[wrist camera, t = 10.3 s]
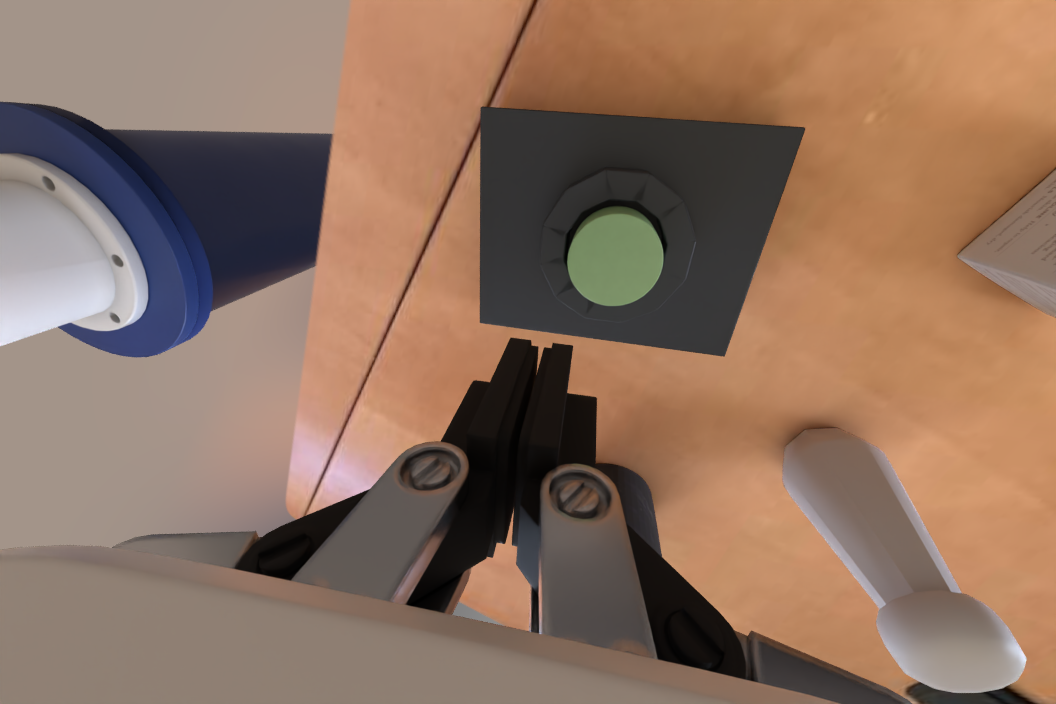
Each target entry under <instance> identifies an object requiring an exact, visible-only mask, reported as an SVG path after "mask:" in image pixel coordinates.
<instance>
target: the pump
mask: <svg viewBox="0 0 1056 704" xmlns="http://www.w3.org/2000/svg"><path fill="white" fill-rule="evenodd" d="M567 264H568V271H569V275H570V278H571V281H572V282H573V284H574V286H575V287H576V289H577V290H578V291H579V292H580V293H581V294H582V295H583V296H584V297H586V298H587V299H589V300H590V301H593V302H595V303H597V304H601V305H606V306H620V305H625V304H629V303H631V302H634V301H636V300H638V299H639V298H641V297H643V296H644V295H645V294H646V293H647V292H648V291H650V290H651V288H652V287H653V286H654V285H655V283H656V281H657V280H658V278H659V276H660V274H661V270H662V267H663V248H662V244H661V241H660V239H659V237H658V235H657V233H656V231H655V229H654V227H653V225H652V224H651V222H650V221H649V220H648V219H647V218H646V217H645V216H644V215H643V214H641V213H640V212H638V211H636V210H634V209H632V208H629V207H624V206H611V207H606V208H603V209H600V210H598V211H596V212H594V213H592V214H591V215H590V216H588V217H587V218H586V219H585V220H584V221H583V222H582V223H581V224H580V226H579V227H578V229H577V231H576V233H575V235H574V237H573V240H572V243H571V246H570V249H569V253H568V261H567Z"/></svg>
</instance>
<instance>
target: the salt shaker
mask: <svg viewBox="0 0 1056 704" xmlns="http://www.w3.org/2000/svg"><path fill="white" fill-rule="evenodd" d="M782 480H783V484H784V487H785V488H786V490H787V491H788V493H789V494H790V496H791V497H792V499H793V500H794V501H795V503H796V504H797V505H798V506H799V508H800V509H801V510H802V511H803V513H804V514H805V515H806V516H807V518H808V519H809V520H810V521H811V523H812V524H813V525H814V527H815V528H816V529H817V530H818V532H819V533H820V534H821V535H822V537H823V538H824V539H825V540H826V542H827V543H828V544H829V545H830V547H831V548H832V549H833V551H834V552H835V553H836V554H837V556H838V557H839V558H840V559H841V561H842V562H843V563H844V564H845V566H846V567H847V568H848V569H849V571H850V572H851V573H852V575H853V576H854V577H855V578H856V580H857V581H858V582H859V583H860V585H861V586H862V587H863V588H864V590H865V591H866V592H867V593H868V595H869V596H870V597H871V598H872V600H873V601H874V602H875V604H876V605H877V606H878V607H879V611H878V616H877V620H876V624H877V630H878V632H879V634H880V636H881V638H882V640H883V642H884V644H885V646H886V648H887V649H888V651H889V652H890V653H891V655H892V656H893V658H894V659H895V661H896V662H897V663H898V665H899V666H900V667H901V669H902V670H903V671H904V673H905V674H907V675H909V676H910V677H912V678H914V679H916V680H918V681H919V682H922V683H924V684H926V685H928V686H930V687H932V688H934V689H939V690H944V691H949V692H954V693H980V692H985V691H991V690H996V689H1001V688H1003V687H1005V686H1007V685H1009V684H1011V683H1013V682H1015V681H1017V680H1018V678H1019V677H1020V675H1021V673H1022V672H1023V670H1024V667H1025V663H1026V657H1025V655H1024V653H1023V652H1022V650H1021V648H1020V646H1019V645H1018V643H1017V641H1016V640H1015V638H1014V636H1013V635H1012V633H1011V631H1010V630H1009V628H1008V626H1007V625H1006V624H1005V623H1004V622H1003V621H1002V620H1001V619H1000V617H999V616H998V615H997V614H996V613H995V612H994V611H993V610H992V609H991V608H989V607H988V606H987V605H985V604H984V603H982V602H981V601H979V600H977V599H975V598H973V597H971V596H969V595H967V594H962V593H961V591H960V589H959V587H958V585H957V583H956V582H955V580H954V578H953V576H952V574H951V573H950V571H949V569H948V567H947V565H946V563H945V562H944V560H943V558H942V556H941V554H940V552H939V551H938V549H937V547H936V545H935V543H934V542H933V540H932V538H931V536H930V534H929V532H928V531H927V529H926V527H925V525H924V523H923V522H922V520H921V518H920V516H919V514H918V512H917V511H916V509H915V507H914V505H913V503H912V502H911V500H910V498H909V496H908V494H907V492H906V491H905V489H904V487H903V485H902V483H901V482H900V480H899V478H898V476H897V474H896V472H895V471H894V469H893V467H892V465H891V464H890V462H889V460H888V458H887V457H886V455H885V453H884V452H882V451H881V450H880V449H879V448H878V447H876V446H874V445H872V444H870V443H868V442H866V441H864V440H863V439H861V438H859V437H856V436H854V435H852V434H850V433H848V432H845V431H843V430H841V429H839V428H821V429H805V430H804V431H803V432H802V433H800V434H799V435H798V436H797V437H796V438H795V439H793V440H792V441H791V442H790V443H789V444H788V445H786V446H785V450H784V460H783V479H782Z"/></svg>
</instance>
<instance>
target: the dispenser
mask: <svg viewBox="0 0 1056 704" xmlns="http://www.w3.org/2000/svg"><path fill="white" fill-rule="evenodd" d="M804 131H805V128H804V127H790V126H775V125H759V124H744V123H728V122H712V121H697V120H681V119H666V118H650V117H635V116H619V115H604V114H588V113H573V112H557V111H542V110H526V109H511V108H495V107H481V149H480V323H484V324H491V325H499V326H506V327H513V328H521V329H528V330H535V331H542V332H550V333H557V334H564V335H572V336H579V337H586V338H593V339H601V340H608V341H615V342H622V343H630V344H637V345H644V346H652V347H659V348H666V349H673V350H681V351H688V352H695V353H702V354H710V355H717V356H725V354H726V351H727V348H728V345H729V343H730V340H731V337H732V334H733V331H734V329H735V326H736V323H737V320H738V317H739V315H740V312H741V309H742V306H743V303H744V300H745V298H746V295H747V292H748V289H749V286H750V284H751V281H752V278H753V275H754V272H755V269H756V267H757V264H758V261H759V258H760V255H761V253H762V250H763V247H764V244H765V241H766V238H767V236H768V233H769V230H770V227H771V224H772V222H773V219H774V216H775V213H776V210H777V207H778V205H779V202H780V199H781V196H782V193H783V191H784V188H785V185H786V182H787V179H788V177H789V174H790V171H791V168H792V165H793V162H794V160H795V157H796V154H797V151H798V148H799V146H800V143H801V140H802V137H803V134H804ZM611 206H624V207H629V208H632V209H634V210H636V211H638V212H640V213H641V214H643V215H644V216H645V217H646V218H647V219H648V220H649V221H650V222H651V224H652V225H653V227H654V229H655V231H656V233H657V235H658V237H659V239H660V241H661V244H662V248H663V267H662V270H661V274H660V276H659V278H658V280H657V281H656V283H655V285H654V286H653V287H652V288H651V290H650V291H648V292H647V293H646V294H645V295H644V296H643V297H641V298H639V299H638V300H636V301H634V302H631V303H629V304H625V305H620V306H606V305H601V304H597V303H595V302H593V301H590V300H589V299H587V298H586V297H584V296H583V295H582V294H581V293H580V292H579V291H578V290H577V289H576V287H575V286H574V284H573V282H572V281H571V278H570V275H569V271H568V264H567V261H568V253H569V249H570V246H571V243H572V240H573V237H574V235H575V233H576V231H577V229H578V227H579V226H580V224H581V223H582V222H583V221H584V220H585V219H586V218H587V217H588V216H590V215H591V214H592V213H594V212H596V211H598V210H600V209H603V208H606V207H611Z"/></svg>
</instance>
